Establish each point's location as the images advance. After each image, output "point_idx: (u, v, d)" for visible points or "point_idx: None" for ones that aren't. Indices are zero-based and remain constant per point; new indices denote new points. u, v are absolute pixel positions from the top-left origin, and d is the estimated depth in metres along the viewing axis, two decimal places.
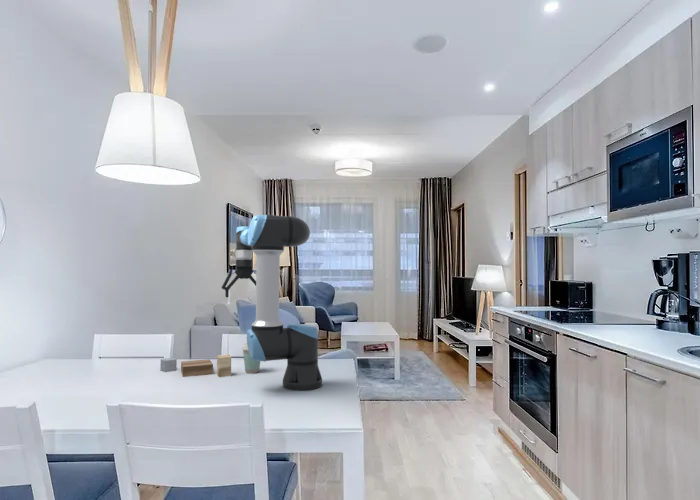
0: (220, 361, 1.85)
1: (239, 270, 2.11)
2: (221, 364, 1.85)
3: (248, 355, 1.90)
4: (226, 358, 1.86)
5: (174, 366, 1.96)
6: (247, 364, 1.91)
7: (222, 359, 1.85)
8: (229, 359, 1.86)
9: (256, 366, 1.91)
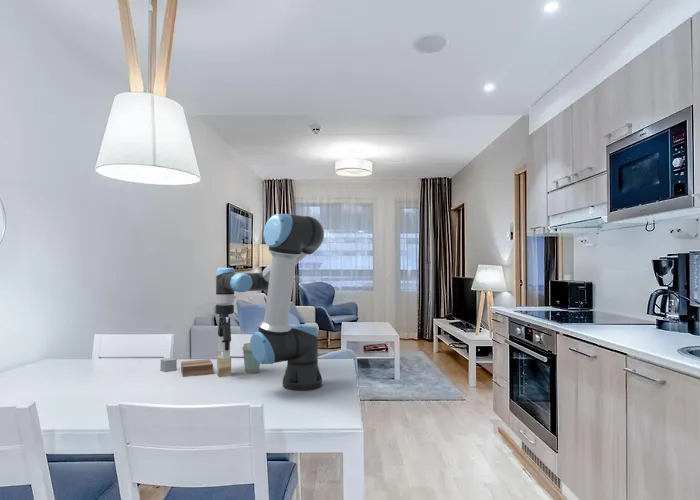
0: (220, 361, 1.85)
1: (221, 316, 1.90)
2: (221, 364, 1.85)
3: (248, 355, 1.90)
4: (226, 358, 1.86)
5: (174, 366, 1.96)
6: (247, 364, 1.91)
7: (222, 359, 1.85)
8: (229, 359, 1.86)
9: (256, 366, 1.91)
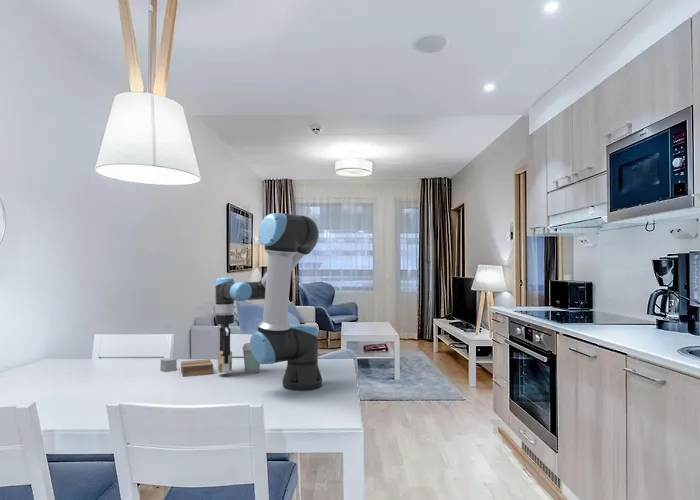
0: (221, 356, 1.85)
1: (221, 325, 1.90)
2: None
3: (248, 355, 1.90)
4: None
5: (174, 366, 1.96)
6: (247, 364, 1.91)
7: None
8: (230, 354, 1.86)
9: (256, 366, 1.91)
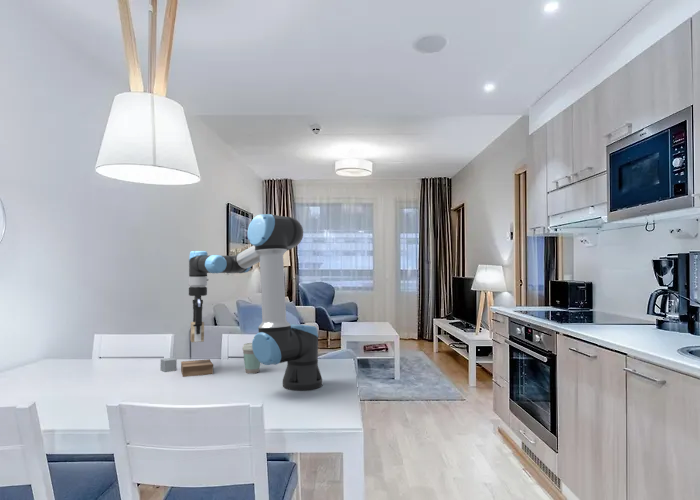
0: (193, 327, 1.91)
1: (194, 297, 1.96)
2: (194, 330, 1.91)
3: (248, 355, 1.90)
4: None
5: (174, 366, 1.96)
6: (247, 364, 1.91)
7: None
8: (202, 325, 1.92)
9: (256, 366, 1.91)
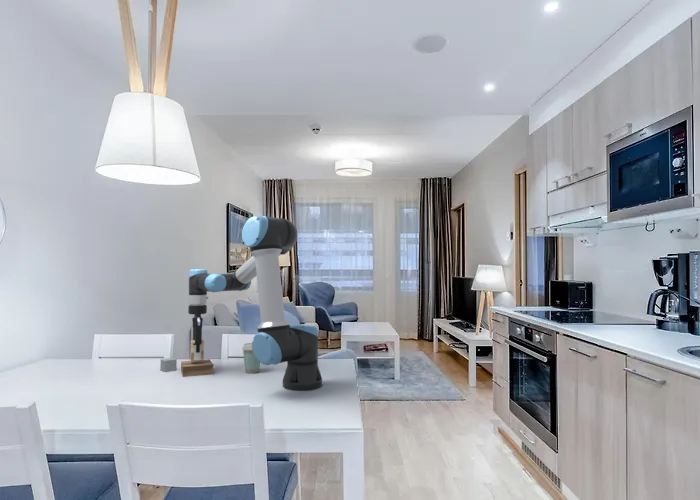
0: (193, 345, 1.90)
1: (194, 315, 1.96)
2: None
3: (248, 355, 1.90)
4: None
5: (174, 366, 1.96)
6: (247, 364, 1.91)
7: None
8: (202, 343, 1.92)
9: (256, 366, 1.91)
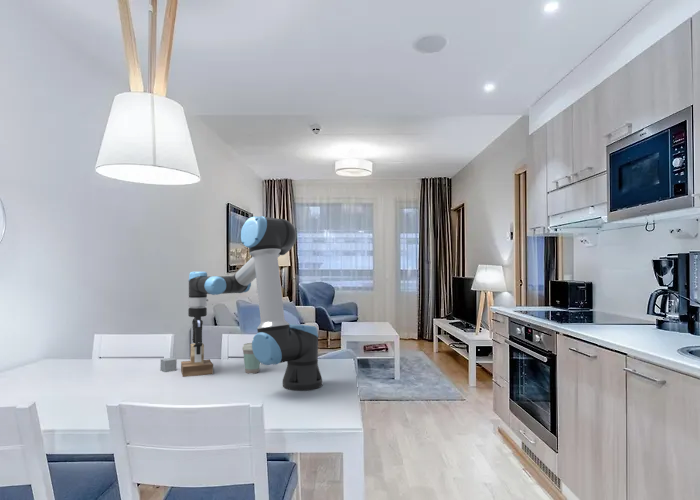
0: (193, 349, 1.90)
1: (194, 318, 1.95)
2: (194, 352, 1.90)
3: (248, 355, 1.90)
4: None
5: (174, 366, 1.96)
6: (247, 364, 1.91)
7: (194, 347, 1.90)
8: (202, 347, 1.92)
9: (256, 366, 1.91)
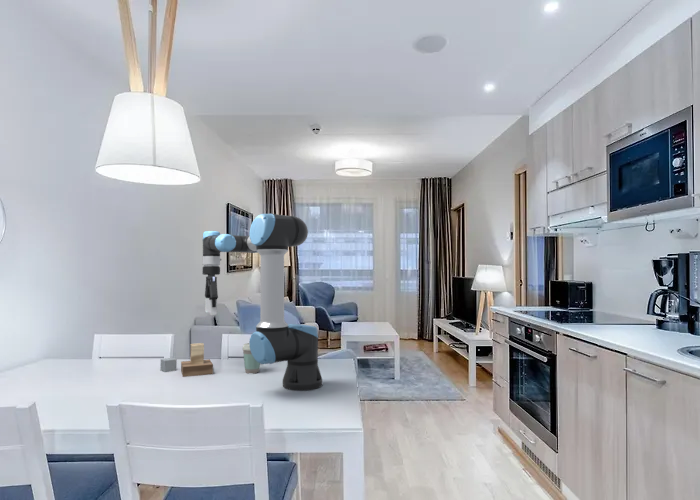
0: (193, 349, 1.90)
1: (207, 277, 2.01)
2: (194, 352, 1.90)
3: (248, 355, 1.90)
4: (199, 346, 1.91)
5: (174, 366, 1.96)
6: (247, 364, 1.91)
7: (194, 347, 1.90)
8: (202, 347, 1.92)
9: (256, 366, 1.91)
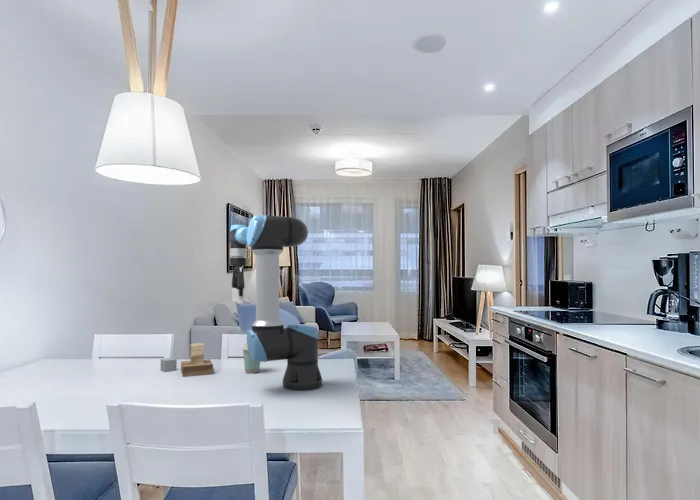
0: (193, 349, 1.90)
1: (234, 268, 2.14)
2: (194, 352, 1.90)
3: (248, 355, 1.90)
4: (199, 346, 1.91)
5: (174, 366, 1.96)
6: (247, 364, 1.91)
7: (194, 347, 1.90)
8: (202, 347, 1.92)
9: (256, 366, 1.91)
